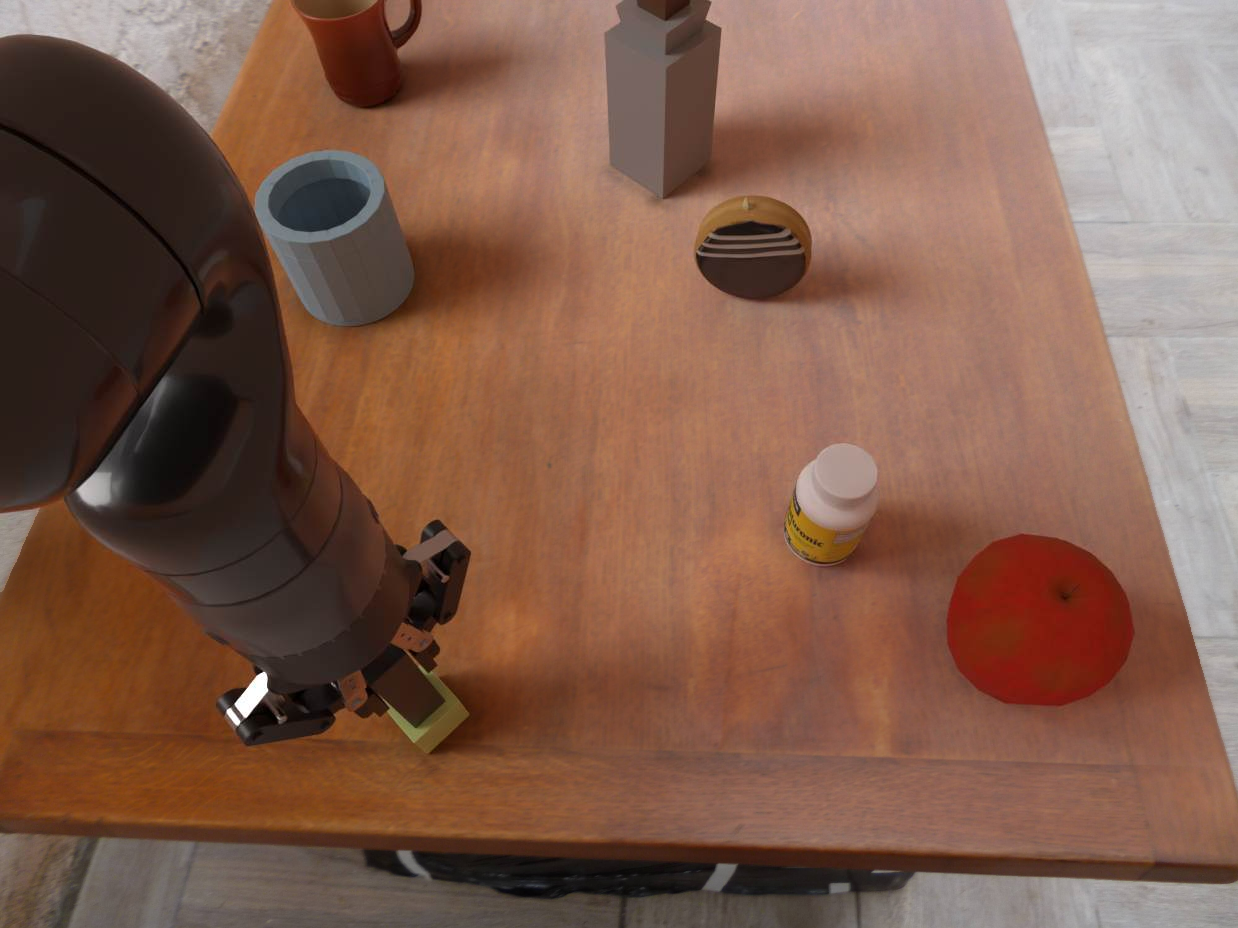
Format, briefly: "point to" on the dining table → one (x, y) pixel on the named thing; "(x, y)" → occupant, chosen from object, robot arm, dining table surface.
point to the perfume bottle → (661, 90)
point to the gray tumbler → (337, 236)
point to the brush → (414, 697)
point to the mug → (358, 46)
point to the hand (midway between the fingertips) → (398, 679)
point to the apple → (1038, 622)
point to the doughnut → (753, 247)
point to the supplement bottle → (832, 505)
